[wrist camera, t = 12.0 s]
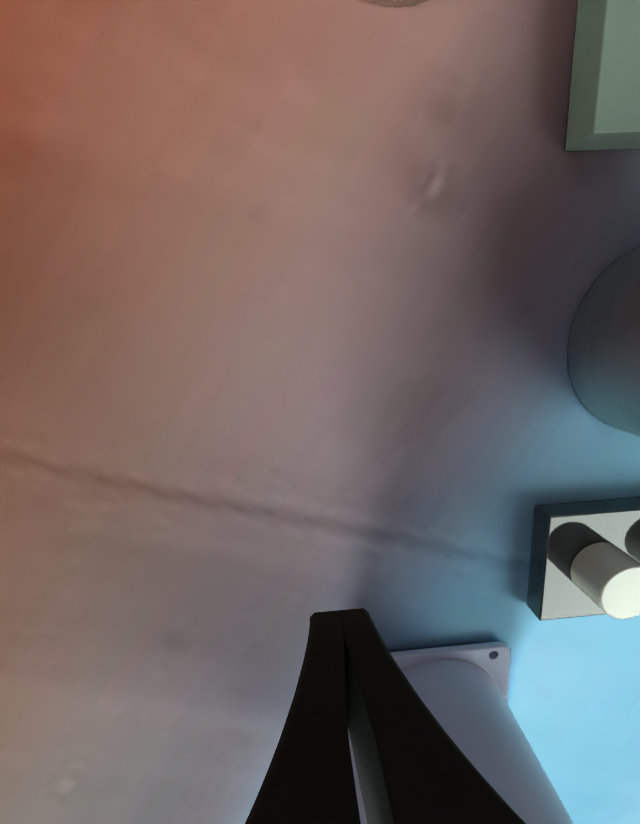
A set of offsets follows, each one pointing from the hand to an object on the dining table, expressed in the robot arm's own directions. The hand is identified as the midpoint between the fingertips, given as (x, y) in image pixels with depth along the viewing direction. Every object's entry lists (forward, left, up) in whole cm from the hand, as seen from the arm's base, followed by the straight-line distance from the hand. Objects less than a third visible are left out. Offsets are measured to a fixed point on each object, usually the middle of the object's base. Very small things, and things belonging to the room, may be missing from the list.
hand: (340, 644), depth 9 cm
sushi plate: (+16, -5, -9) cm, 19 cm away
